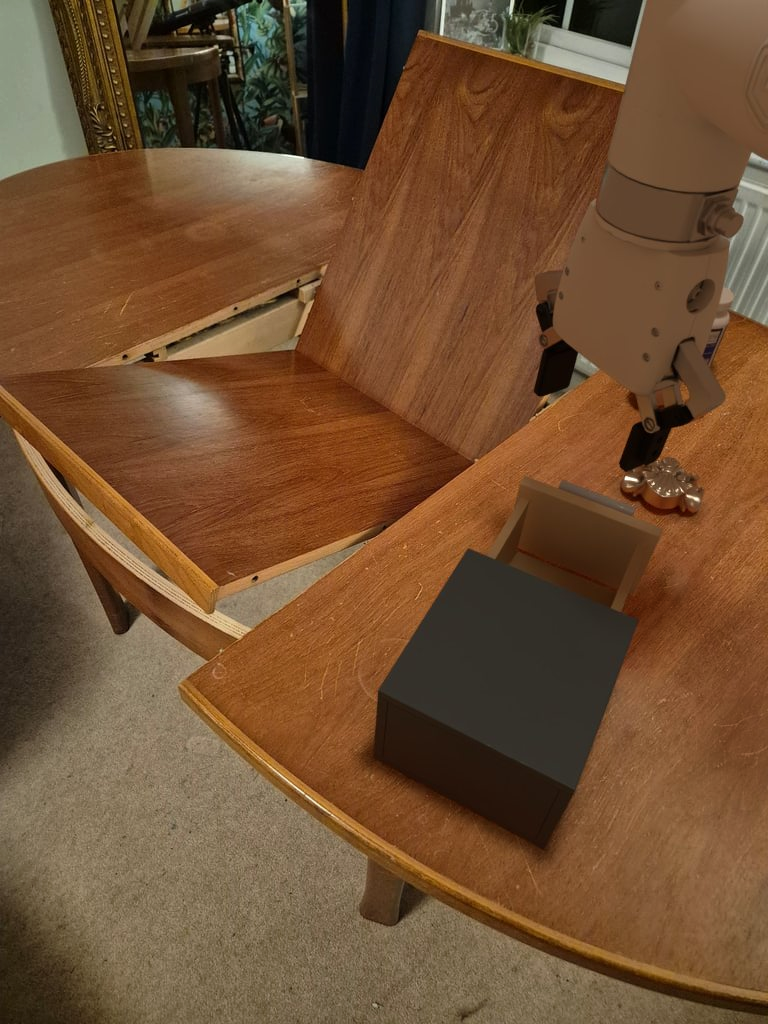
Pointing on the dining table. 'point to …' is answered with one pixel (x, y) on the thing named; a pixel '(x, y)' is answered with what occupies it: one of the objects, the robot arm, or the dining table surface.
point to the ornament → (664, 485)
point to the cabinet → (502, 694)
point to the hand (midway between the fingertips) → (591, 425)
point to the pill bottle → (718, 326)
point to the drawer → (577, 540)
